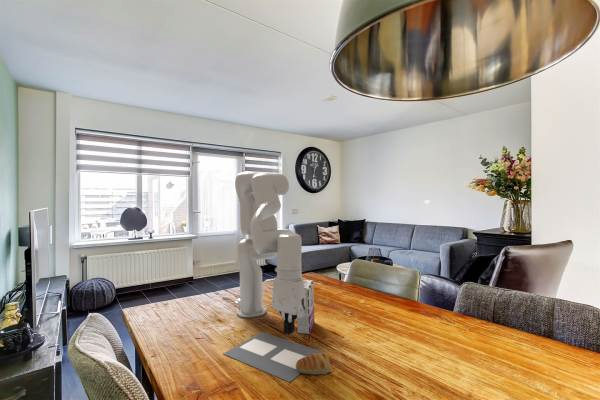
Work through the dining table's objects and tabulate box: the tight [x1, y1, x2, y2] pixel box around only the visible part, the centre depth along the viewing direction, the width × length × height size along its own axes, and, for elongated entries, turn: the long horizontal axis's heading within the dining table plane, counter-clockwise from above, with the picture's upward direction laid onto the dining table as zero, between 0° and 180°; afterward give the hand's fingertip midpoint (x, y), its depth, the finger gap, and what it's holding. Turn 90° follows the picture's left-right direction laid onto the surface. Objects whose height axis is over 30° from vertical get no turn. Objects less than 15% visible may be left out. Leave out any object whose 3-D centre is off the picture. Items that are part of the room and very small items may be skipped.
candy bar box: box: [296, 279, 315, 335], centre depth 108 cm, size 11×5×16 cm, turn 168°
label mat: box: [222, 331, 326, 384], centre depth 90 cm, size 26×18×1 cm
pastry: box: [296, 351, 331, 376], centre depth 81 cm, size 9×7×4 cm
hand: (289, 332), depth 90 cm, fingers closed
